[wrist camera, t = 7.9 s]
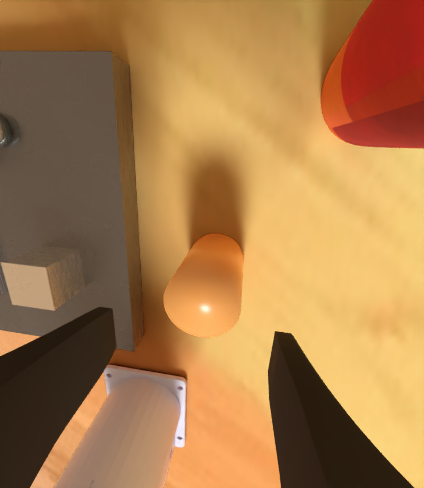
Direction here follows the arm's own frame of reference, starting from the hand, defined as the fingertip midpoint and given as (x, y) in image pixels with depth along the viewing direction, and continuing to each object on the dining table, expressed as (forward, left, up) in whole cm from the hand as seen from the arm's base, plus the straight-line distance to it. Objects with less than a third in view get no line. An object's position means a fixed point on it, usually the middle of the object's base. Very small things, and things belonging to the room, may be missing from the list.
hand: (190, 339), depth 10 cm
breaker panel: (+2, +16, -8) cm, 18 cm away
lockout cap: (0, 0, -8) cm, 8 cm away
